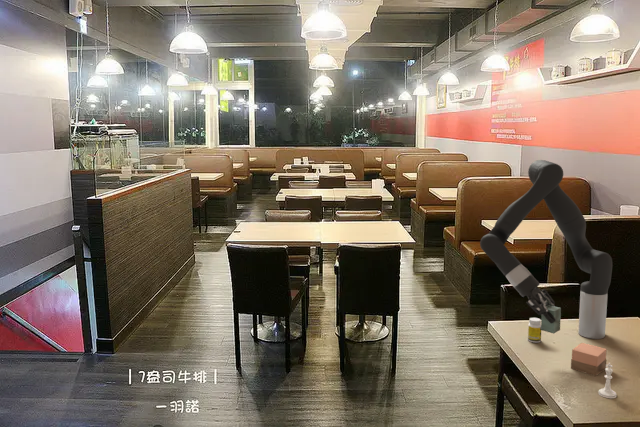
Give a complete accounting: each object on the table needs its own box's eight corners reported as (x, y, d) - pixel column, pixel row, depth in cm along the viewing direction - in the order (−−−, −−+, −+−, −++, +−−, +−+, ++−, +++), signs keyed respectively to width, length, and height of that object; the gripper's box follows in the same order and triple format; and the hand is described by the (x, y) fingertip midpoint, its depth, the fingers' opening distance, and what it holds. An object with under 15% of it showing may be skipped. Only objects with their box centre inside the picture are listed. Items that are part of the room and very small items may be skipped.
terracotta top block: (581, 352, 187) (581, 342, 187) (605, 358, 181) (606, 348, 181) (571, 359, 182) (572, 349, 181) (597, 366, 176) (597, 356, 175)
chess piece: (616, 399, 161) (618, 368, 159) (597, 396, 164) (599, 364, 162) (617, 392, 165) (619, 361, 163) (599, 389, 168) (600, 358, 166)
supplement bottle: (542, 343, 203) (542, 321, 202) (528, 342, 204) (529, 321, 203) (539, 338, 208) (540, 317, 207) (526, 337, 209) (527, 316, 208)
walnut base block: (581, 362, 188) (582, 352, 187) (605, 369, 181) (606, 359, 181) (570, 369, 182) (571, 359, 182) (595, 377, 176) (595, 366, 176)
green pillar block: (547, 326, 191) (548, 304, 190) (560, 330, 188) (560, 307, 186) (541, 330, 188) (541, 307, 187) (553, 333, 185) (554, 311, 184)
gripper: (522, 279, 184) (558, 319, 179) (537, 269, 195) (571, 307, 189) (506, 291, 189) (541, 331, 183) (521, 281, 199) (555, 319, 194)
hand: (556, 319), depth 186 cm, fingers closed on green pillar block, 5 cm apart
